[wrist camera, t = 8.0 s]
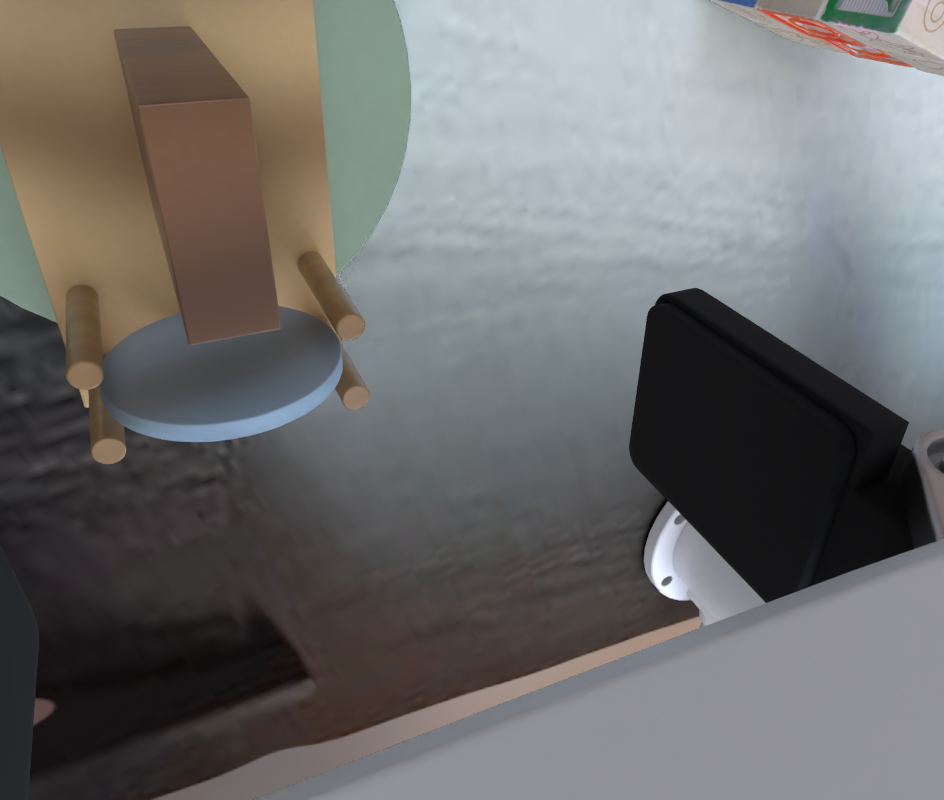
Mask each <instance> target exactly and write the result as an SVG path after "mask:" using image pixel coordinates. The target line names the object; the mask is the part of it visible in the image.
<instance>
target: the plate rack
mask: <svg viewBox="0 0 944 800" xmlns="http://www.w3.org/2000/svg"><path fill="white" fill-rule="evenodd" d="M0 147H1V150H2V153H3V156H4V159H5V162H6V165H7V168H8V171H9V174H10V178H11V181H12V184H13V187H14V190H15V193H16V196H17V199H18V202H19V205H20V209H21V212H22V215H23V218H24V221H25V224H26V227H27V230H28V233H29V236H30V239H31V243H32V246H33V249H34V252H35V255H36V258H37V261H38V264H39V267H40V270H41V273H42V277H43V280H44V283H45V286H46V289H47V292H48V295H49V298H50V301H51V304H52V307H53V311H54V314H55V317H56V320H57V323H58V326H59V329H60V332H61V335H62V338H63V341H64V345H65V348H66V378H67V381H68V382H69V383H70V384H71V385H72V386H73V387H75V388H77V389H79V391H80V394H81V397H82V400H83V403H84V406H85V407H89V417H90V440H91V454H92V457H93V458H94V459H95V460H96V461H98V462H100V463H103V464H112V463H116V462H118V461H120V460H121V459H122V458H123V457H124V456H125V454H126V441H125V431H124V426H125V427H127V428H129V429H131V430H133V431H135V432H138V433H140V434H143V435H146V436H150V437H154V438H158V439H163V440H171V441H181V442H211V441H221V440H230V439H235V438H241V437H246V436H250V435H254V434H258V433H262V432H265V431H268V430H271V429H274V428H277V427H280V426H282V425H284V424H287V423H289V422H291V421H293V420H296V419H297V418H299V417H301V416H303V415H305V414H306V413H308V412H309V411H311V410H312V409H314V408H315V407H317V406H318V405H319V404H320V403H322V402H323V401H324V400H325V399H326V398H327V397H328V396H329V395H330V394H331V393H332V391H333V390H334V389H336V391H337V393H338V395H339V397H340V398H341V400H342V402H343V404H344V405H345V406H346V407H347V408H349V409H359V408H361V407H363V406H364V405H366V404H367V402H368V400H369V398H370V392H369V390H368V388H367V386H366V385H365V383H364V381H363V380H362V378H361V376H360V374H359V373H358V371H357V369H356V368H355V366H354V364H353V363H352V361H351V359H350V358H349V356H348V354H347V352H346V351H345V349H344V347H343V343H342V339H344V340H354V339H356V338H358V337H359V336H360V335H361V334H362V333H363V331H364V328H365V321H364V319H363V317H362V316H361V314H360V313H359V311H358V310H357V308H356V307H355V306H354V304H353V303H352V301H351V300H350V298H349V297H348V295H347V294H346V292H345V291H344V289H343V288H342V286H341V285H340V283H339V282H338V280H337V274H336V263H335V251H334V240H333V228H332V216H331V205H330V193H329V182H328V170H327V159H326V147H325V136H324V124H323V113H322V101H321V90H320V78H319V67H318V55H317V43H316V32H315V20H314V9H313V0H0Z"/></svg>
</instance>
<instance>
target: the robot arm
mask: <svg viewBox="0 0 944 800" xmlns="http://www.w3.org/2000/svg"><path fill="white" fill-rule="evenodd" d="M908 424H909V422H908V421H906V420H904V419H903V418H901V417H900V416H898V415H897V414H895V413H894V412H892V411H890V410H889V409H887V408H886V407H884V406H883V405H881V404H879V403H878V402H876V401H875V400H873V399H872V398H870V397H869V396H867V395H865V394H864V393H862V392H861V391H859V390H858V389H856V388H854V387H853V386H851V385H850V384H848V383H847V382H845V381H844V380H842V379H840V378H839V377H837V376H836V375H834V374H833V373H831V372H829V371H828V370H826V369H825V368H823V367H822V366H820V365H819V364H817V363H815V362H814V361H812V360H811V359H809V358H808V357H806V356H804V355H803V354H801V353H800V352H798V351H797V350H795V349H794V348H792V347H790V346H789V345H787V344H786V343H784V342H783V341H781V340H779V339H778V338H776V337H775V336H773V335H772V334H770V333H769V332H767V331H765V330H764V329H762V328H761V327H759V326H758V325H756V324H754V323H753V322H751V321H750V320H748V319H747V318H745V317H744V316H742V315H740V314H739V313H737V312H736V311H734V310H733V309H731V308H730V307H728V306H726V305H725V304H723V303H722V302H720V301H719V300H717V299H715V298H714V297H712V296H711V295H709V294H708V293H706V292H705V291H703V290H701V289H698V288H692V289H687V290H682V291H677V292H673V293H668V294H663V295H662V296H660V297H659V298H658V300H657V302H656V304H655V306H653V307H652V308H651V309H650V310H649V312H648V316H647V322H646V329H645V336H644V343H643V350H642V358H641V365H640V372H639V379H638V386H637V394H636V401H635V408H634V415H633V422H632V430H631V437H630V444H629V451H630V456H631V459H632V461H633V463H634V465H635V467H636V468H637V469H638V470H639V471H640V472H641V473H642V474H643V475H644V476H645V478H646V479H647V480H648V481H649V482H650V483H651V484H652V485H653V486H654V487H655V488H656V489H657V490H658V491H659V492H660V493H661V494H662V495H663V496H664V497H665V498H666V499H667V500H668V501H667V503H666V504H665V506H664V507H663V509H662V510H661V512H660V513H659V515H658V516H657V518H656V520H655V522H654V524H653V526H652V528H651V530H650V532H649V535H648V539H647V542H646V546H645V551H644V566H645V571H646V574H647V576H648V577H649V579H650V581H651V582H652V583H653V584H654V585H655V587H656V588H657V589H658V590H659V591H660V592H661V593H662V594H664V595H665V596H667V597H669V598H672V599H676V600H692V601H693V602H694V603H695V604H696V606H697V607H698V608H699V617H700V619H701V620H702V623H701V625H700V628H699V629H696V630H693V631H691V632H688V633H685V634H683V635H680V636H677V637H675V638H672V639H670V640H667V641H665V642H662V643H659V644H656V645H654V646H651V647H649V648H646V649H644V650H641V651H638V652H635V653H633V654H630V655H627V656H625V657H622V658H620V659H617V660H614V661H612V662H609V663H606V664H604V665H601V666H599V667H596V668H593V669H591V670H588V671H586V672H583V673H580V674H578V675H575V676H572V677H570V678H567V679H565V680H562V681H559V682H557V683H554V684H552V685H549V686H546V687H544V688H541V689H538V690H536V691H533V692H531V693H528V694H525V695H523V696H520V697H517V698H515V699H512V700H510V701H507V702H504V703H502V704H499V705H497V706H494V707H491V708H489V709H486V710H484V711H481V712H478V713H476V714H473V715H470V716H468V717H466V718H463V719H460V720H458V721H455V722H452V723H450V724H447V725H445V726H442V727H440V728H437V729H434V730H432V731H429V732H427V733H424V734H422V735H419V736H416V737H414V738H411V739H408V740H406V741H403V742H401V743H398V744H396V745H393V746H391V747H388V748H385V749H383V750H380V751H378V752H375V753H372V754H370V755H367V756H365V757H362V758H359V759H357V760H354V761H352V762H349V763H347V764H344V765H341V766H339V767H336V768H334V769H331V770H328V771H326V772H323V773H321V774H318V775H316V776H313V777H311V778H308V779H305V780H303V781H300V782H298V783H295V784H292V785H290V786H287V787H285V788H282V789H279V790H277V791H274V792H272V793H269V794H267V795H264V796H261V797H259V798H256V799H254V800H944V430H942V431H933V432H929V433H927V434H925V435H922V436H920V437H919V438H918V440H917V441H916V442H915V443H914V446H913V448H912V451H911V450H909V449H908V448H906V447H905V446H903V445H902V444H901V442H902V439H903V437H904V434H905V431H906V429H907V426H908ZM38 645H39V635H38V628H37V622H36V619H35V615H34V613H33V610H32V608H31V606H30V604H29V602H28V600H27V598H26V596H25V594H24V592H23V589H22V587H21V585H20V583H19V581H18V579H17V577H16V575H15V573H14V571H13V569H12V567H11V564H10V562H9V560H8V558H7V556H6V554H5V552H4V550H3V548H2V546H1V544H0V800H28V793H29V778H30V763H31V749H32V734H33V719H34V704H35V690H36V675H37V660H38Z"/></svg>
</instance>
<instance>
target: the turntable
mask: <svg viewBox="0 0 944 800" xmlns="http://www.w3.org/2000/svg"><path fill="white" fill-rule="evenodd" d="M313 9H314V20H315V32H316V43H317V55H318V67H319V78H320V90H321V101H322V113H323V124H324V136H325V147H326V159H327V170H328V182H329V193H330V205H331V216H332V228H333V240H334V251H335V263H336V274H337V275H338V274H339V273H340V272H341V271H342V270H343V268H344V267H345V266H346V265H347V264H348V263H349V262H350V261H351V260H352V259H353V257H354V256H355V255H356V254H357V253H358V252H359V251H360V249H361V248H362V246H363V245H364V244H365V242H366V241H367V239H368V238H369V237H370V235H371V234H372V232H373V231H374V229H375V228H376V226H377V224H378V222H379V220H380V218H381V217H382V215H383V213H384V211H385V209H386V207H387V206H388V203H389V201H390V198H391V196H392V193H393V191H394V188H395V186H396V183H397V181H398V178H399V174H400V171H401V167H402V163H403V159H404V155H405V151H406V146H407V139H408V132H409V125H410V110H411V82H410V72H409V62H408V53H407V48H406V44H405V39H404V35H403V30H402V25H401V21H400V18H399V15H398V12H397V9H396V6H395V3H394V0H313ZM0 296H2V297H3V298H5V299H7V300H9V301H11V302H12V303H14V304H16V305H18V306H20V307H21V308H23V309H26V310H28V311H30V312H33V313H35V314H38V315H40V316H42V317H45V318H47V319H49V320H52V321H54V322H57V320H56V317H55V314H54V311H53V307H52V304H51V301H50V298H49V295H48V292H47V289H46V286H45V283H44V280H43V277H42V273H41V270H40V267H39V264H38V261H37V258H36V255H35V252H34V249H33V246H32V243H31V239H30V236H29V233H28V230H27V227H26V224H25V221H24V218H23V215H22V212H21V209H20V205H19V202H18V199H17V196H16V193H15V190H14V187H13V184H12V181H11V178H10V174H9V171H8V168H7V165H6V162H5V159H4V156H3V153H2V150H1V147H0Z"/></svg>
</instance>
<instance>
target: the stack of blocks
mask: <svg viewBox="0 0 944 800" xmlns="http://www.w3.org/2000/svg"><path fill="white" fill-rule="evenodd" d="M709 1H711V2H714V3H716V4H718V5H720V6H722V7H724V8H726V9H728V10H730V11H732V12H734V13H736V14H738V15H740V16H742V17H744V18H746V19H748V20H751V21H753V22H755V23H756V24H758V25H760V26H761V27H763V28H765V29H767V30H769V31H771V32H773V33H775V34H778V35H780V36H782V37H784V38H786V39H789V40H791V41H794V42H797V43H800V44H804V45H807V46H811V47H816V48H820V49H826V50H832V51H837V52H843V53H849V54H851V55H853V56H855V57H859V58H865V59H870V60H875V61H881V62H886V63H890V64H895V65H901V66H907V67H914V68H916V69H918V70H921V71H924V72H928V73H933V74H938V75H942V76H944V0H709Z"/></svg>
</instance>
